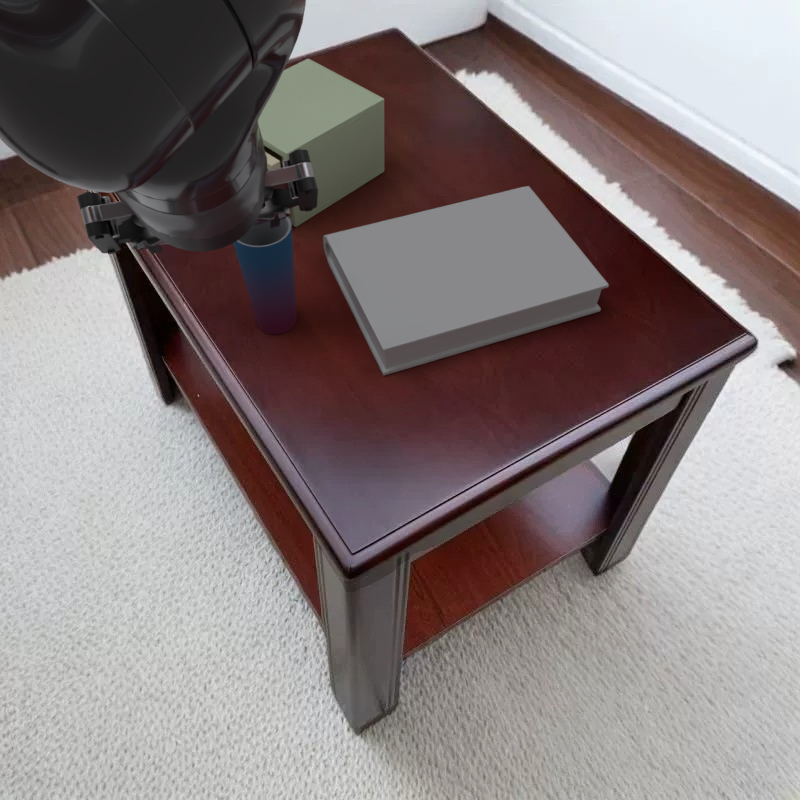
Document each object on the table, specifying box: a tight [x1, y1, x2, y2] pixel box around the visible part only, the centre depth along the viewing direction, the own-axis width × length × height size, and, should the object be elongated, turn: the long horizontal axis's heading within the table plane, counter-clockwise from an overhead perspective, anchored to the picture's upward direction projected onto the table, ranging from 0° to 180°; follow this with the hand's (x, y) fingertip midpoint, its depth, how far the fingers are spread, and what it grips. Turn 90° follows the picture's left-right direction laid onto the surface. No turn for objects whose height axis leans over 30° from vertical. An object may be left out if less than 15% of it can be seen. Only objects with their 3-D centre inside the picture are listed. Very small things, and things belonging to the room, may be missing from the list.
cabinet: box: [258, 58, 385, 228], centre depth 85 cm, size 15×13×10 cm
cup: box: [232, 217, 298, 335], centre depth 69 cm, size 6×5×12 cm
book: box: [322, 185, 610, 377], centre depth 76 cm, size 18×4×24 cm
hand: (212, 226), depth 53 cm, fingers open, 8 cm apart
